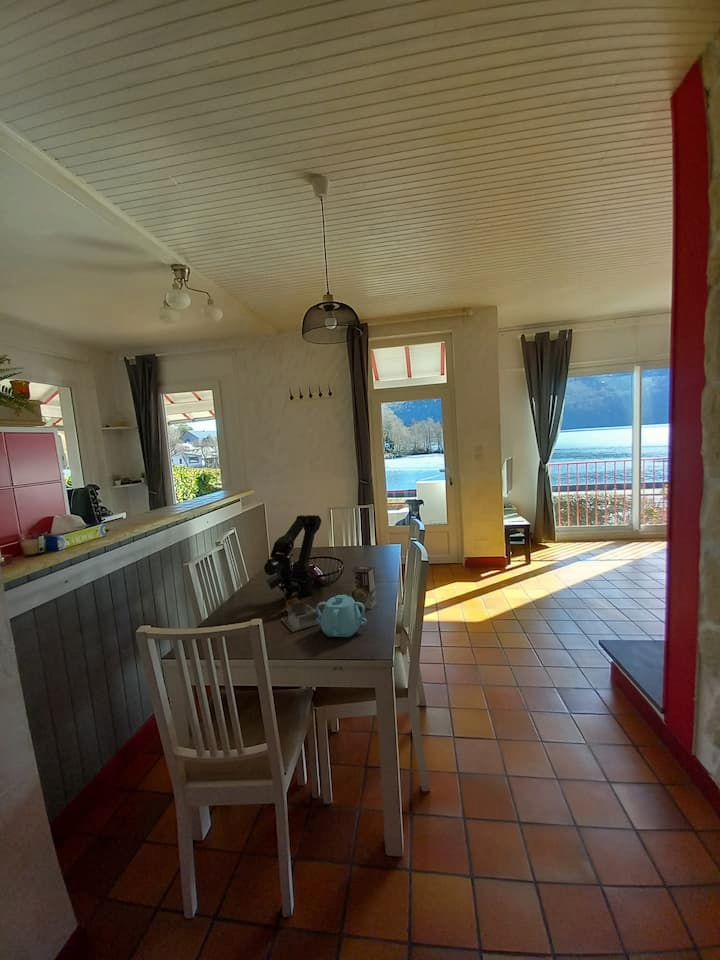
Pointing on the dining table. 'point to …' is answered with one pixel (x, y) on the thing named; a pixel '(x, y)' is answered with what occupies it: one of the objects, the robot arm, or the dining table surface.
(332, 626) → the decorative pot
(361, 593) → the coffee box
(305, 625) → the channel
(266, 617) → the dining table surface
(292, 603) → the lock block
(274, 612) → the dining table surface
